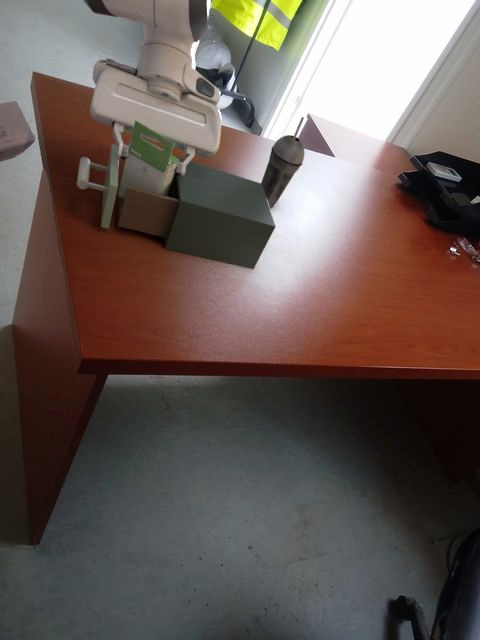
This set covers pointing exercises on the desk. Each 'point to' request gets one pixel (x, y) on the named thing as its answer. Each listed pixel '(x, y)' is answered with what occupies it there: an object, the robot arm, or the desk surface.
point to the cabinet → (220, 217)
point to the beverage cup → (282, 166)
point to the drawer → (131, 200)
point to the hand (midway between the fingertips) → (151, 167)
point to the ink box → (148, 163)
